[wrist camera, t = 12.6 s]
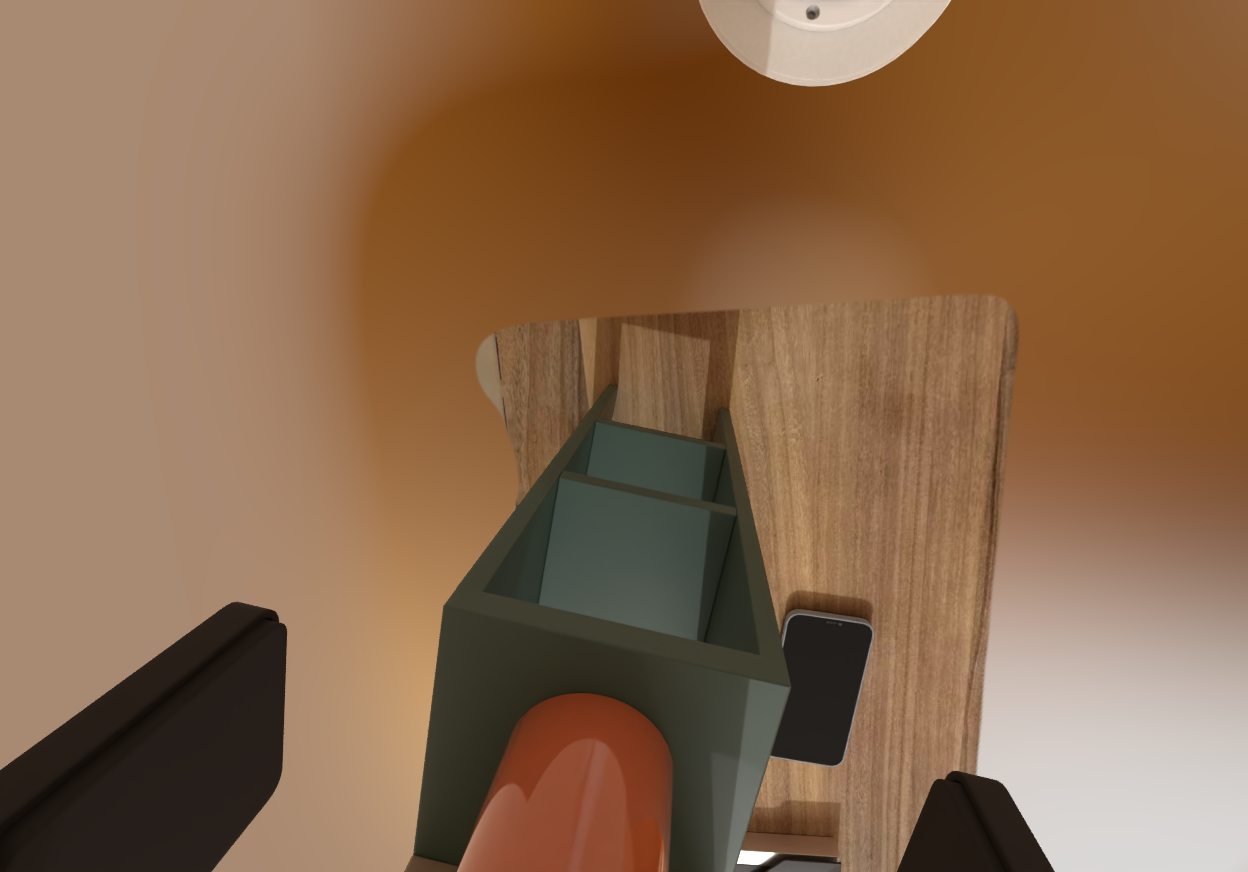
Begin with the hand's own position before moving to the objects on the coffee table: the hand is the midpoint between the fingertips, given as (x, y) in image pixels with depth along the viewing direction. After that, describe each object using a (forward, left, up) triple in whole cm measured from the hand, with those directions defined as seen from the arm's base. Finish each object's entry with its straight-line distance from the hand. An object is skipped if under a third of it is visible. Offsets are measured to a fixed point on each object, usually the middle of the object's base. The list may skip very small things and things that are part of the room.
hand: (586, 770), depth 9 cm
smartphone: (+26, +18, -43) cm, 54 cm away
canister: (+8, 0, -8) cm, 11 cm away
